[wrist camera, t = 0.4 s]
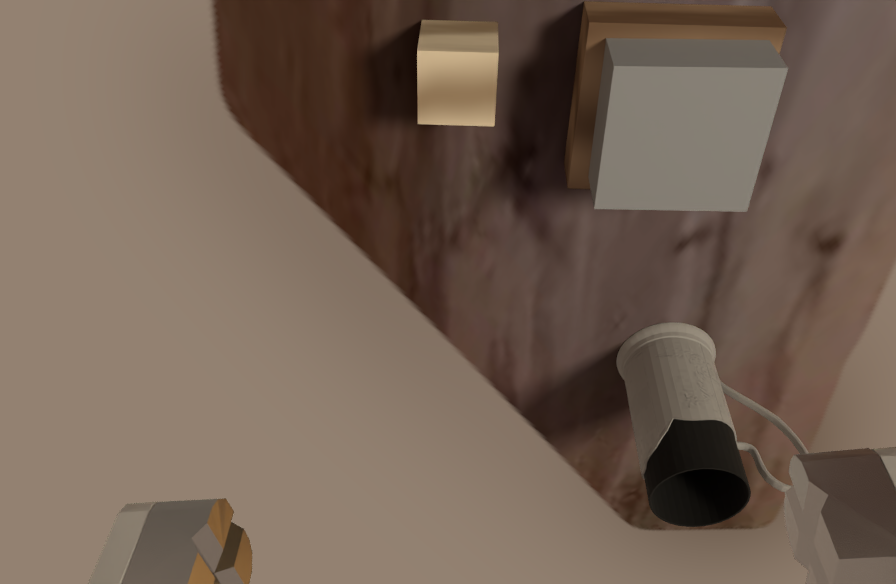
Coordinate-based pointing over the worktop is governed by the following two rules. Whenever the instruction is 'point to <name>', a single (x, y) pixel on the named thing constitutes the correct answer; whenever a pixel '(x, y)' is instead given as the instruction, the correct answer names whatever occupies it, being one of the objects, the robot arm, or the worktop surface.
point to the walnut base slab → (646, 24)
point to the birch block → (457, 72)
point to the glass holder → (688, 426)
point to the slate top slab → (683, 123)
